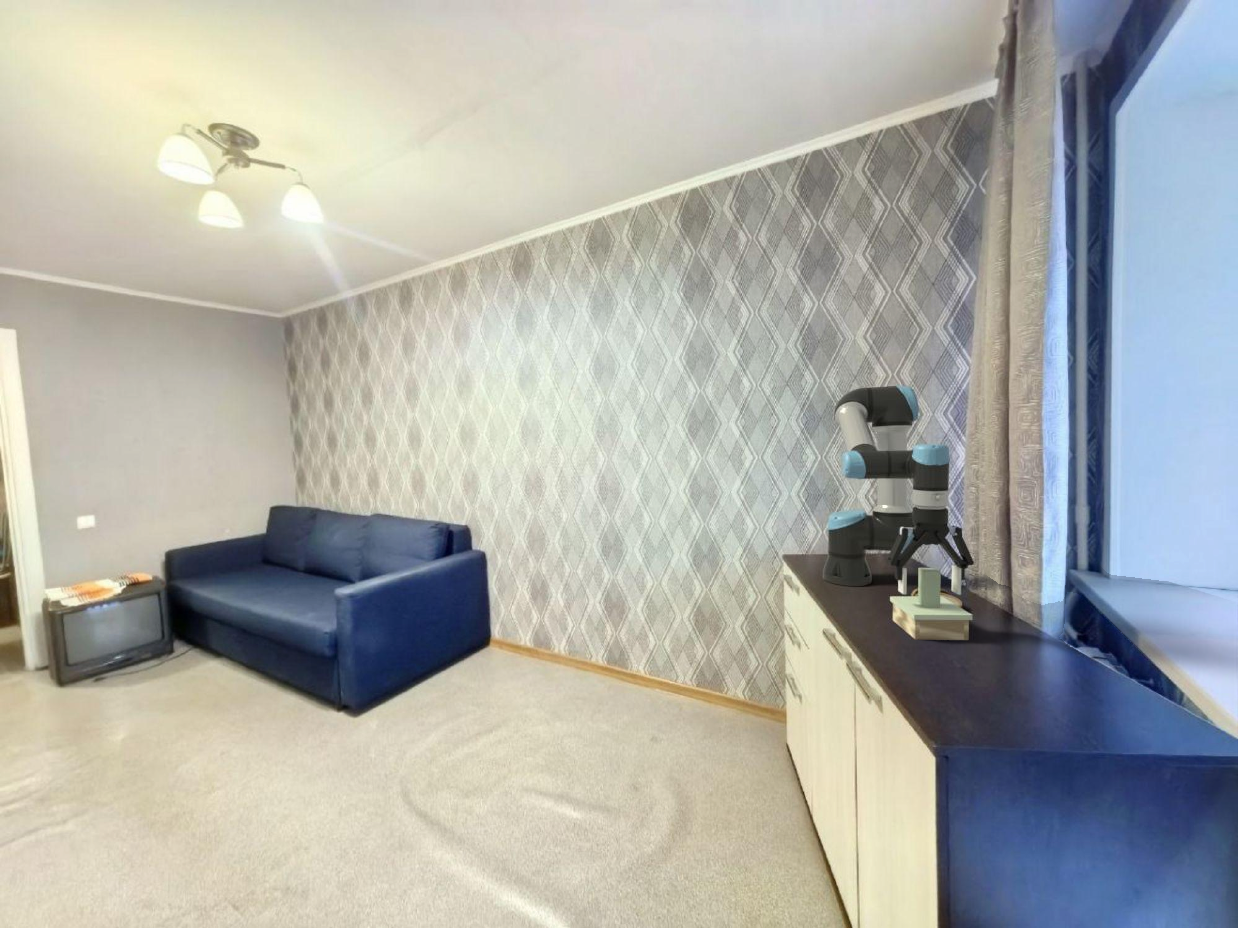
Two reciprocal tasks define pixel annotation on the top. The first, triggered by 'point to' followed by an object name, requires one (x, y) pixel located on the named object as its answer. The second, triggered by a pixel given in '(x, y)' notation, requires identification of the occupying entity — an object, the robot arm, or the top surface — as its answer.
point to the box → (931, 627)
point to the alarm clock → (945, 595)
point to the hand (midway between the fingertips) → (929, 592)
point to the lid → (929, 600)
